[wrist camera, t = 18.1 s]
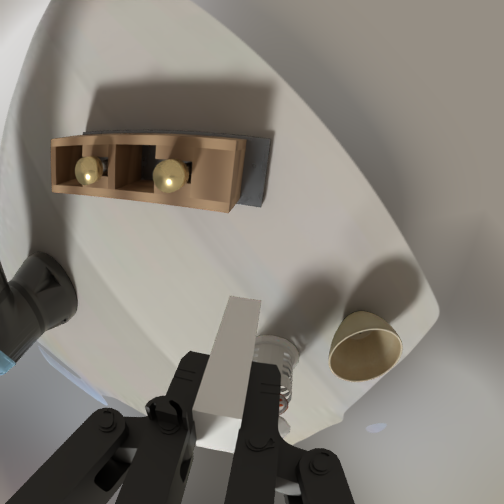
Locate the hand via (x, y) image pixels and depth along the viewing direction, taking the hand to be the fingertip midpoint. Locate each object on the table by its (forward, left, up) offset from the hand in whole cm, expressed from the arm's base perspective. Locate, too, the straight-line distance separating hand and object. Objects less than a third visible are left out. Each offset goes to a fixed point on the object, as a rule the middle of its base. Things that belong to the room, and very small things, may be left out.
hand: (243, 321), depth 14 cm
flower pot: (+15, -15, -22) cm, 30 cm away
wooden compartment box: (-16, +4, -21) cm, 26 cm away
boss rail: (-14, +4, -22) cm, 26 cm away
